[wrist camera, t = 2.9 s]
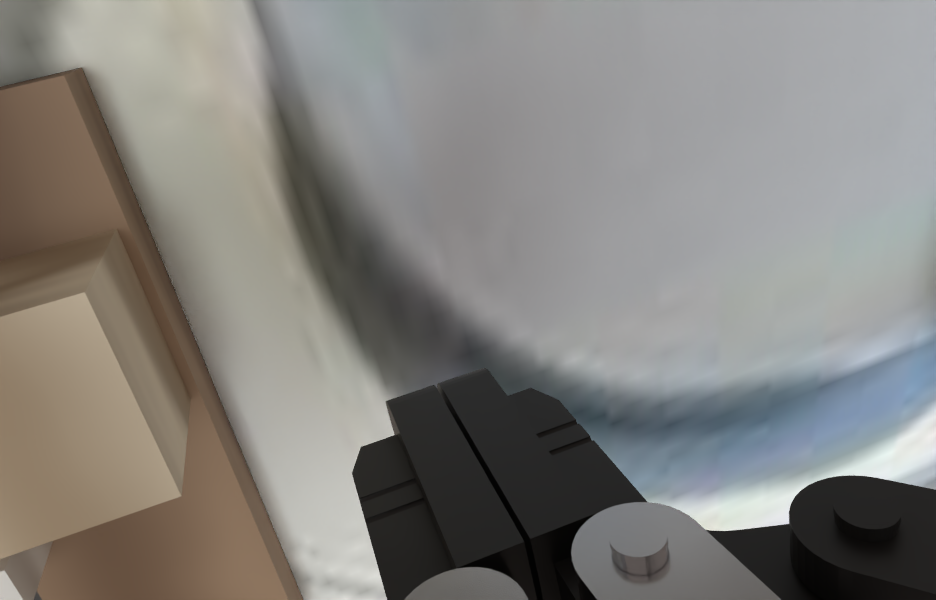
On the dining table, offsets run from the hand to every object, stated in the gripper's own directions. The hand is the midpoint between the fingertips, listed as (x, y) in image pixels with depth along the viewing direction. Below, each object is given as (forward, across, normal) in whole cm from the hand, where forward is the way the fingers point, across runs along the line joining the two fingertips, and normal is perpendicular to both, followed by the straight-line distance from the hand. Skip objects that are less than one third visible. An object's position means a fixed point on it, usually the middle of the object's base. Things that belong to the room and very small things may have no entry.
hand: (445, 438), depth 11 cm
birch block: (+8, +7, 0) cm, 11 cm away
